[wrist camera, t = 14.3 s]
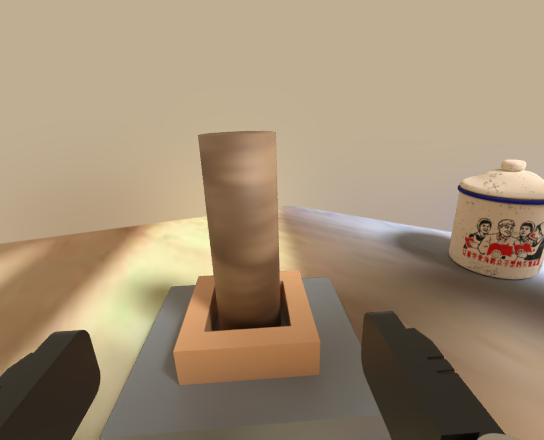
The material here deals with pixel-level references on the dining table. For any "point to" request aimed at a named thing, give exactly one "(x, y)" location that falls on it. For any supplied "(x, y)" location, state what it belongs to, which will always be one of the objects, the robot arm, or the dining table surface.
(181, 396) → the collar base
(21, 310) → the dining table surface
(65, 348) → the robot arm
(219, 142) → the walnut peg
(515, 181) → the teacup with lid
